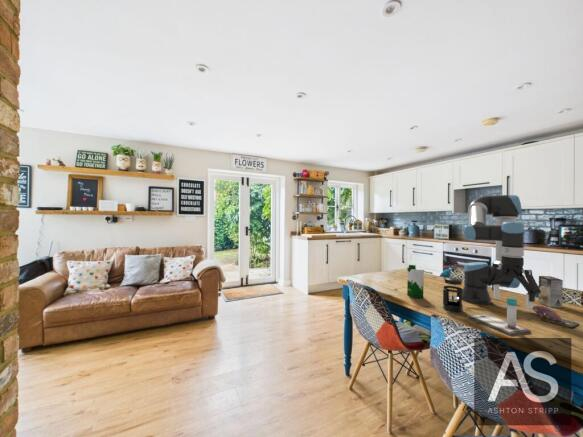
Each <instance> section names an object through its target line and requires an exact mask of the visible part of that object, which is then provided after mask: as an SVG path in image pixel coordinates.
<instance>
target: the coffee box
mask: <svg viewBox="0 0 583 437" xmlns="http://www.w3.org/2000/svg"><path fill="white" fill-rule="evenodd" d="M563 282H564V281H563V279H561V278H558V277H555V276H550V275H548V276H547V275H538V287H539V289H540V291H541V293H540V294H538V302H539V303H540V304H542V305H545V306H546V307H547V306H548V307H550V308H561V307H562V308H563V285H564V284H563Z"/></svg>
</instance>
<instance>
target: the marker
mask: <svg viewBox="0 0 583 437" xmlns="http://www.w3.org/2000/svg"><path fill="white" fill-rule="evenodd" d="M517 306H518V299H516V298H512V297H506V321H507V327H508V328H510V329H516V325H517Z"/></svg>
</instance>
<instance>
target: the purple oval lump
mask: <svg viewBox="0 0 583 437" xmlns="http://www.w3.org/2000/svg"><path fill="white" fill-rule="evenodd" d="M532 310H533V312H535V313H536V314H537V315H539V317H541V318H543V317H545V318H546V319H548V320H551V319H553V320H555V321H558V322H561V321H562V318H561V315H559V314H557V313H556V311H554V310H553V309H550V308H548V307H547V306H543V305H539V304H538V305H535V306H533V309H532Z"/></svg>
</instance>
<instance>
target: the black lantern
mask: <svg viewBox="0 0 583 437" xmlns="http://www.w3.org/2000/svg"><path fill="white" fill-rule="evenodd" d="M448 269H449V270H451V272H452V273H455V271H457V270H458V268H456V267H448ZM443 280H444V283H445V284H448V285H444V286H443V288H442V289H443V290H442V305H443V306H442V309H443V310H445V311H447V312H450V313H459V314H460V313H463V312H464V310H463V309H464V308H463V306H464V305H463V304H462V303H463V299H462V292H463V288H462V287H460V286H461V285H462V284H463V282H464V280H463V279H462V278H458V277H453V276H451V277H450V276H449V277H447V276H446V277H443ZM458 286H459V287H458ZM450 293H456V295H455V296H454V295H450Z"/></svg>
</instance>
